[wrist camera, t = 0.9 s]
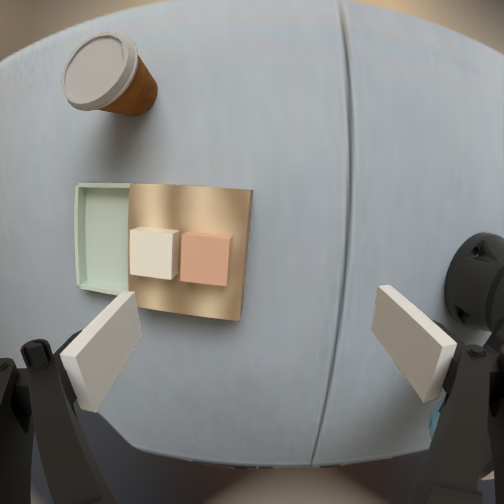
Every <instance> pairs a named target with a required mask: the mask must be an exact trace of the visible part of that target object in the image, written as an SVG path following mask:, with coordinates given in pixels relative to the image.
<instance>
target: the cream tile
mask: <svg viewBox="0 0 504 504" xmlns="http://www.w3.org/2000/svg"><path fill="white" fill-rule="evenodd" d="M178 253H179V230H169V229H157V228H145V227H137V228H134V229H131V230H130V274H131V275H138V276H146V277H153V278H161V279H169V280H172V279H173V278H174V277H175V276H176V275H177V274H178Z"/></svg>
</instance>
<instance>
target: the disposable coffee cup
mask: <svg viewBox="0 0 504 504" xmlns="http://www.w3.org/2000/svg"><path fill="white" fill-rule="evenodd" d="M61 86H62V91H63V94H64V95H65V97H66V98H67V100H68V102H69V103H70V104H71V105H72V106H73V107H74V108H76V109H79V110H83V111H91V110H96V109H97V110H103V111H108V112H114V113H119V114H124V115H129V116H135V115H139V114H142V113H144V112H145V111H146V110H148V109H149V108H150V107H151V106H152V104H153V103H154V101H155V99H156V96H157V84H156V82H155V80H154V79H153V77H152V76H151V74H150V73H149V71H148V69H147V68H146V67H145V65H144V63H143V62H142V60H141V59H140V57H139V56H138V53H137V48H136V45H135V43H134V42H133V41H132V40H131V39H130V38H129V37H128V36H126V35H124V34H120V33H111V32H105V33H100V34H97V35H94V36H92V37H90V38H88V39H87V40H85V41H84V42H83V43H82V44H80V45H79V46H78V47H77V48H76V49H75V50H74V52H73V53H72V54H71V56H70V57H69V59H68V60H67V62H66V64H65V67H64V70H63V73H62V80H61Z"/></svg>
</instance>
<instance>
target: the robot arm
mask: <svg viewBox="0 0 504 504" xmlns="http://www.w3.org/2000/svg"><path fill="white" fill-rule="evenodd" d="M445 299H446V304H447V307H448V310H449V312H450V314H451V315H452V316H453V318H455V319H456V320H457V321H458V322H459V323H461V324H462V325H464V326H466V327H468V328H473V329H478V330H484V331H490V332H492V334H491V336H490V337H489V339H488V340H487V342H486V343H485V344H484V346H483V347H481V346H477V345H465V344H464V343H462V342H461V341H460V340H459V339H458V338H457V337H456V336H455V335H452V333H451V332H450V331H449V330H448V329H447V328H445V327H444V326H443V325H442V324H440V323H438V322H436V321H434V320H431V319H429V318H428V317H427V316H426V315H425V314H424V313H422V312H421V311H420V310H419V309H418V308H417V307H415V306H414V305H413V304H412V303H411V302H410V301H408V300H407V299H406V298H405V297H404V296H402V295H401V294H400V293H399V292H398V291H396V290H395V289H394V288H393V287H392V286H390V285H384V286H378V289H377V297H376V305H375V312H374V319H373V325H372V332H373V333H374V334H375V336H376V337H377V338H378V340H379V341H380V342H381V344H382V345H383V346H384V348H385V349H386V351H387V352H388V353H389V355H390V356H391V357H392V359H393V360H394V362H395V363H396V364H397V366H398V367H399V369H400V370H401V371H402V373H403V374H404V376H405V377H406V378H407V380H408V381H409V383H410V384H411V385H412V387H413V388H414V390H415V391H416V393H417V394H418V396H419V397H420V398H421V400H422V401H423V403H424V402H428V401H431V400H435V399H438V397H439V394H440V392H441V389H442V387H443V389H444V390H445V391H446V394H445V396H444V397H443V398H442V400H441V401H440V402H439V403H438V404H437V406H436V407H435V408H434V409H433V411H432V412H431V415H430V418H429V430H430V436H431V439H432V442H431V445H430V447H429V450H428V453H427V456H426V459H425V461H424V464H423V466H422V469H421V472H420V474H419V476H418V479H417V482H416V484H415V486H414V488H413V491H412V493H411V495H410V497H409V499H408V501H407V503H406V504H481V502H482V496H483V495H482V492H480V491H477V484H478V480H479V477H480V478H481V479H482V480H487V479H494V480H495V496H496V504H504V238H502V237H500V236H498V235H495V234H491V233H485V232H484V233H479V234H476V235H474V236H472V237H470V238H469V239H468V240H467V241H466V242H465V243H464V244H463V245H462V246H461V247H460V248H459V250H458V251H457V253H456V254H455V256H454V258H453V260H452V262H451V265H450V267H449V270H448V274H447V278H446V284H445ZM142 337H143V335H142V330H141V325H140V319H139V314H138V308H137V302H136V295H135V292H126V291H122V292H121V293H120V294H119V295H118V296H117V297H116V298H115V299H114V300H113V301H112V302H111V303H110V304H109V305H108V306H107V307H106V308H105V309H104V310H103V311H102V312H101V313H100V314H99V315H98V316H97V317H96V318H95V319H94V320H93V321H92V322H91V323H90V324H89V325H88V326H87V327H86V328H85V329H84V330H80V331H79V332H77V333H75V334H73V335H72V336H71V337H70V338H69V339H68V340H67V341H66V342H65V343H64V344H63V346H61V347H60V348H59V349H58V350H57V351H56V352H55V353H54V354H52V351H51V348H50V345H49V343H48V341H46V340H44V339H36V340H32V341H29V342H27V343H25V344H24V345H23V346H22V347H21V350H20V351H21V354H22V356H23V359H24V361H25V364H26V366H27V368H18V369H17V367H16V365H15V362H14V361H13V359H10V358H0V504H31V498H30V486H31V485H30V484H31V461H32V448H33V438H34V429H35V434H36V438H37V443H38V448H39V453H40V457H41V461H42V465H43V469H44V473H45V476H46V480H47V483H48V487H49V490H50V493H51V496H52V499H53V502H54V504H118V503H117V502H116V500H115V498H114V496H113V494H112V493H111V491H110V489H109V487H108V485H107V483H106V481H105V479H104V477H103V475H102V473H101V471H100V469H99V467H98V465H97V463H96V461H95V459H94V456H93V454H92V451H91V449H90V447H89V444H88V442H87V440H86V437H85V435H84V432H83V430H82V427H81V424H80V422H79V419H78V416H77V413H76V411H75V408H74V406H73V403H74V402H75V401H76V399H77V400H78V403H79V405H80V407H81V409H83V410H87V411H92V412H97V411H98V409H99V408H100V406H101V404H102V402H103V401H104V399H105V397H106V396H107V394H108V392H109V390H110V389H111V387H112V385H113V384H114V382H115V380H116V379H117V377H118V375H119V374H120V372H121V371H122V369H123V367H124V366H125V364H126V362H127V361H128V359H129V357H130V356H131V354H132V353H133V351H134V349H135V348H136V346H137V345H138V343H139V341H140V340H141V338H142Z"/></svg>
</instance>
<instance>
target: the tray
mask: <svg viewBox="0 0 504 504" xmlns="http://www.w3.org/2000/svg"><path fill="white" fill-rule="evenodd" d="M137 184H140V183H137ZM129 189H130V183H75V211H74V235H75V263H76V278H77V288H80V289H85V290H90V291H96V292H101V293H107V294H112V295H119V294H120V293H121V292H122V291H126V292H129V291H128V208H129Z"/></svg>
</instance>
